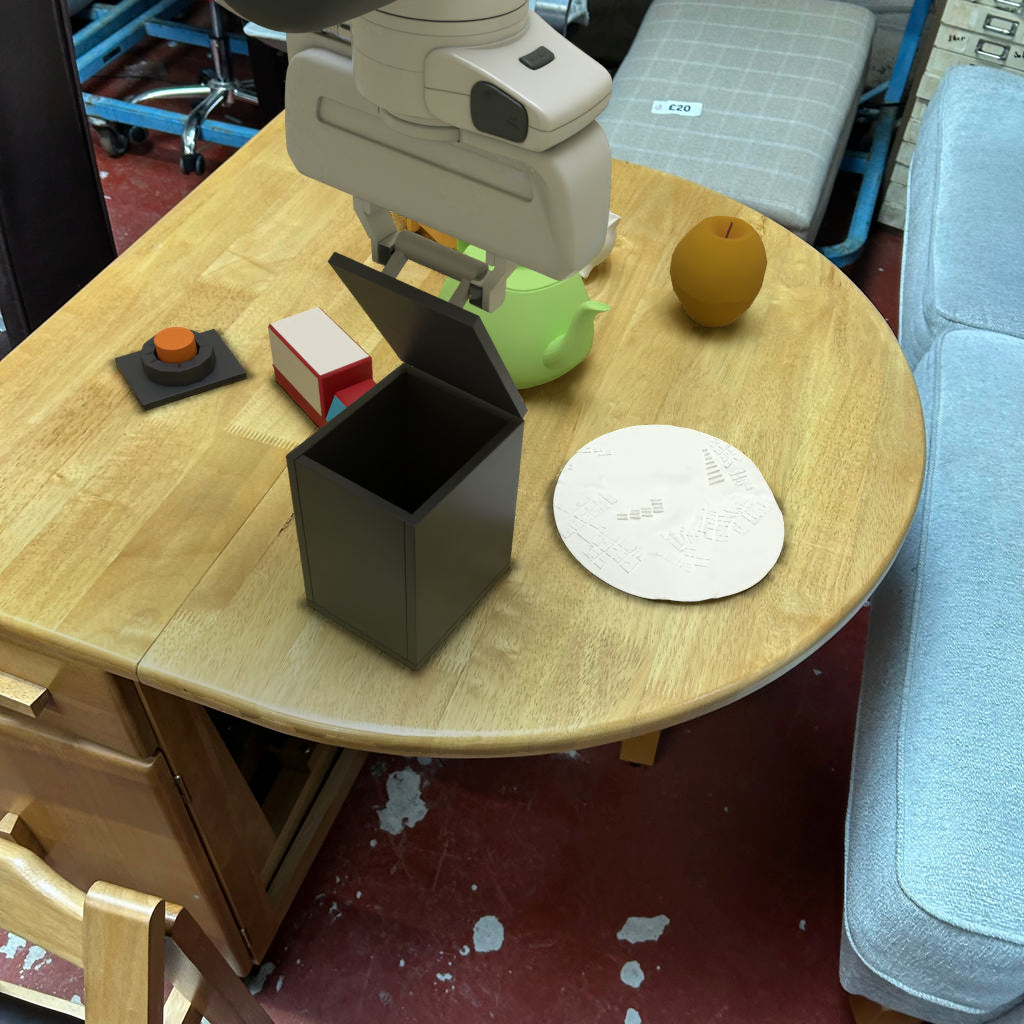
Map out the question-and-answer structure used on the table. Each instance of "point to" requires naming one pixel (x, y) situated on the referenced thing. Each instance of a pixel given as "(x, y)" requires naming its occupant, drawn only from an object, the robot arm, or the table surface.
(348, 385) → the toy truck
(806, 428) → the table surface
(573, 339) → the teapot
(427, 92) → the robot arm
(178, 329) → the button
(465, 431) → the lidded storage box
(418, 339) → the storage box lid
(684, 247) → the apple
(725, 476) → the plaque
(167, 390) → the box
